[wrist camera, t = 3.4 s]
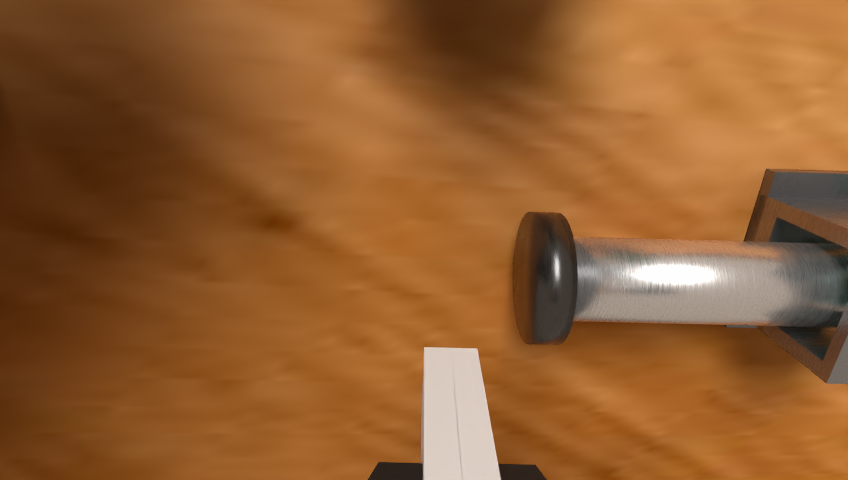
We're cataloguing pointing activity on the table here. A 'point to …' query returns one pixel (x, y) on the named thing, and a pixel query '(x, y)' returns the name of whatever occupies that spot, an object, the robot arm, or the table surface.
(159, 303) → the table surface
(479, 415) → the robot arm
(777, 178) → the guide
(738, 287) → the plunger
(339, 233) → the table surface
